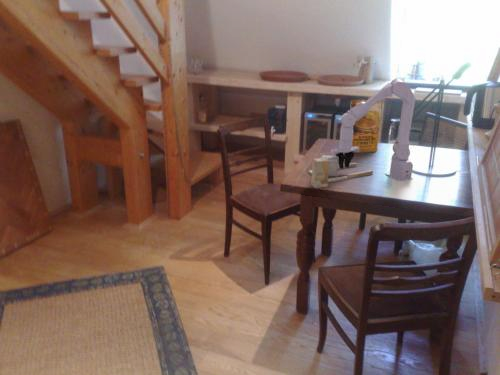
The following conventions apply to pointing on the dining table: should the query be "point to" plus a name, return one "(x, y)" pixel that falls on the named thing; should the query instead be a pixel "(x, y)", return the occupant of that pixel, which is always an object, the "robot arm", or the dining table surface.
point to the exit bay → (333, 178)
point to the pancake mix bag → (367, 128)
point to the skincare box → (320, 172)
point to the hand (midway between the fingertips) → (343, 167)
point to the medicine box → (332, 164)
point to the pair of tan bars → (356, 173)
